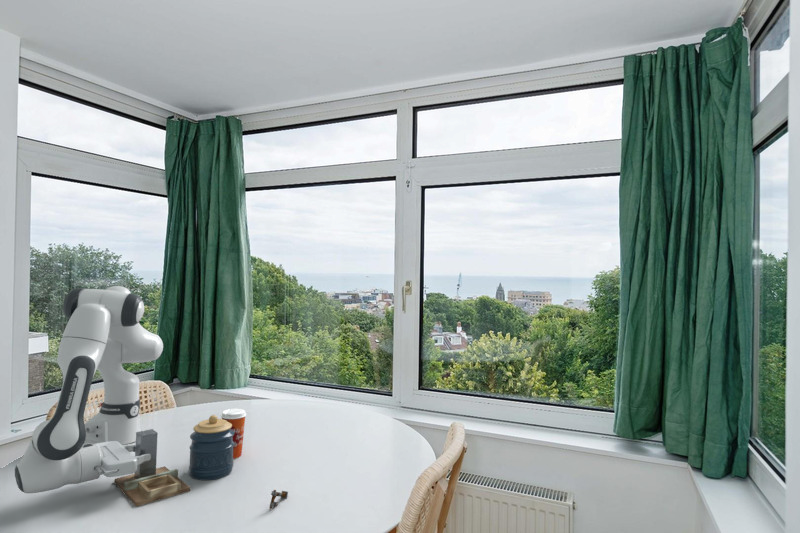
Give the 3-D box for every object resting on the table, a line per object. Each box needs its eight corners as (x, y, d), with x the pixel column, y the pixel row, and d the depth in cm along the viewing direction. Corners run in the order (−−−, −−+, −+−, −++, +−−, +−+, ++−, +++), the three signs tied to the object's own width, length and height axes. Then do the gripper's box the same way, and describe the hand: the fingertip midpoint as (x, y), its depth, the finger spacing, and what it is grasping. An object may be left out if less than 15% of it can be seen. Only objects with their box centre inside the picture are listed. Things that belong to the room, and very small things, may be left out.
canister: (206, 484, 139) (208, 424, 139) (179, 474, 146) (181, 416, 146) (242, 470, 150) (244, 414, 150) (215, 460, 157) (217, 407, 157)
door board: (136, 506, 125) (136, 495, 125) (114, 482, 139) (114, 471, 139) (190, 490, 135) (190, 480, 135) (164, 469, 149) (165, 459, 149)
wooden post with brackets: (265, 508, 124) (269, 489, 126) (278, 507, 131) (282, 490, 133) (272, 509, 124) (275, 490, 126) (284, 508, 131) (288, 490, 133)
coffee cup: (236, 461, 157) (238, 415, 157) (214, 458, 158) (216, 413, 159) (249, 452, 165) (251, 409, 165) (228, 450, 167) (229, 407, 167)
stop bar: (139, 481, 138) (141, 436, 138) (134, 476, 141) (136, 432, 141) (155, 476, 141) (157, 432, 141) (150, 472, 144) (152, 429, 144)
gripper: (100, 463, 124) (157, 450, 134) (82, 442, 138) (134, 432, 148) (99, 487, 124) (156, 473, 133) (81, 464, 138) (133, 452, 148)
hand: (144, 451), depth 141 cm, fingers open, 8 cm apart
